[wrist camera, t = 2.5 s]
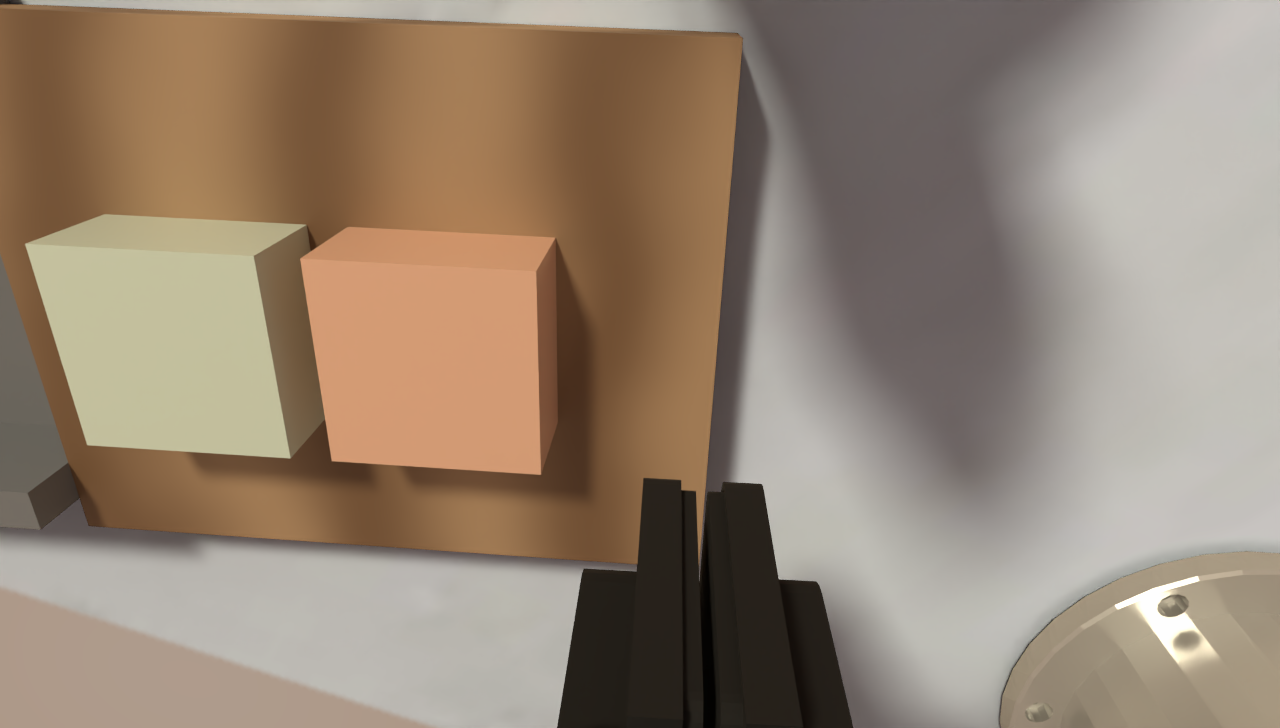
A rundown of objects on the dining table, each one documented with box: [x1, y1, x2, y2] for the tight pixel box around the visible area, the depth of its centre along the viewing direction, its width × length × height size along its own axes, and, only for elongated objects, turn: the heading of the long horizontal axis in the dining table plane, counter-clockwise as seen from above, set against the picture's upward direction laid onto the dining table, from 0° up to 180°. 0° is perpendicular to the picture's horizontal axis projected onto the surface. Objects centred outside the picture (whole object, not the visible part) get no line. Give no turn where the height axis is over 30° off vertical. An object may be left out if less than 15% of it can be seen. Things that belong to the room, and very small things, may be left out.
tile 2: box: [300, 227, 558, 475], centre depth 19 cm, size 5×5×2 cm
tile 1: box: [25, 214, 325, 458], centre depth 19 cm, size 5×5×2 cm
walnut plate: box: [0, 4, 743, 564], centre depth 21 cm, size 18×14×2 cm
